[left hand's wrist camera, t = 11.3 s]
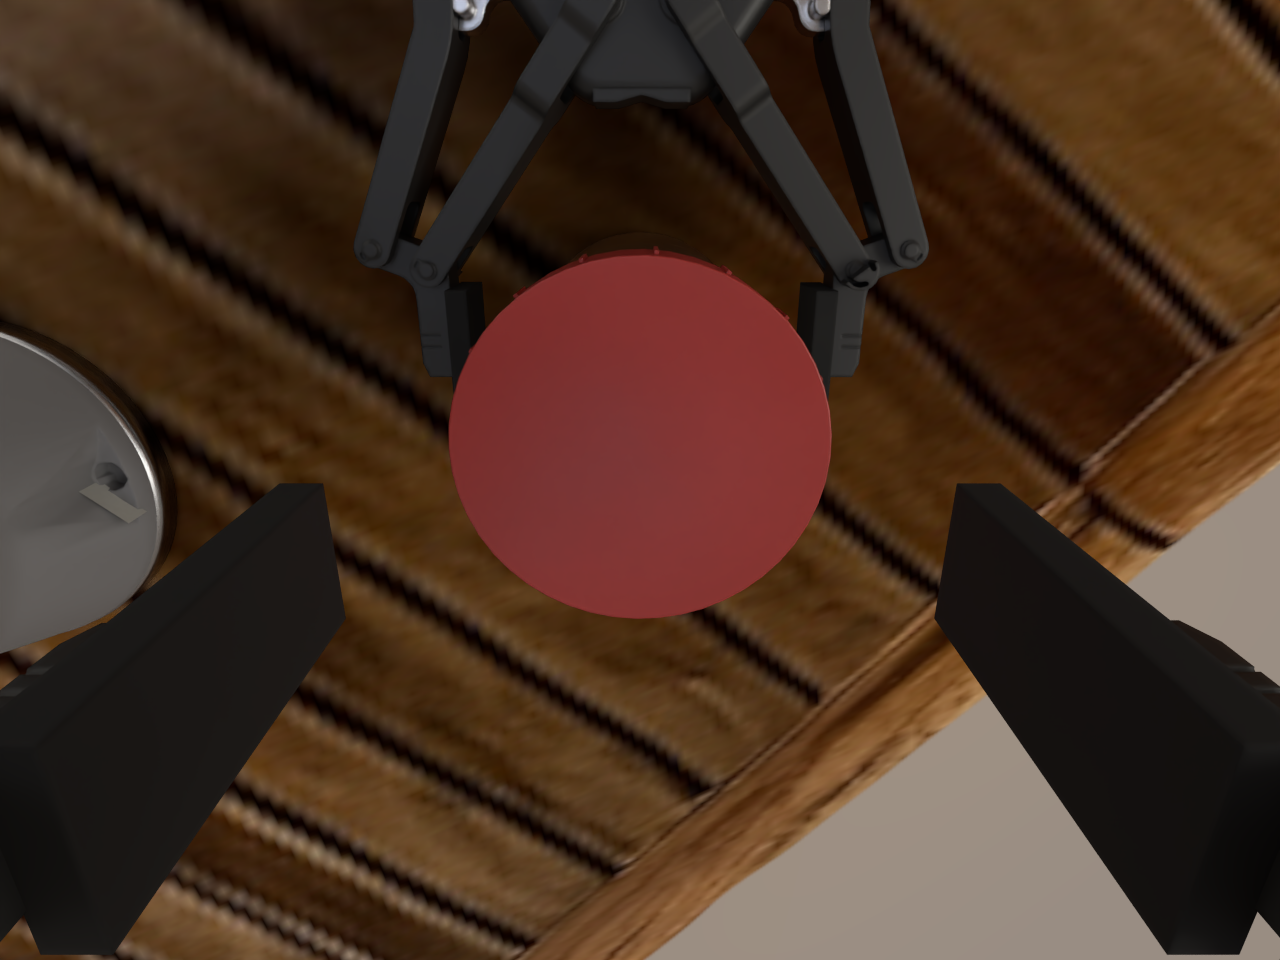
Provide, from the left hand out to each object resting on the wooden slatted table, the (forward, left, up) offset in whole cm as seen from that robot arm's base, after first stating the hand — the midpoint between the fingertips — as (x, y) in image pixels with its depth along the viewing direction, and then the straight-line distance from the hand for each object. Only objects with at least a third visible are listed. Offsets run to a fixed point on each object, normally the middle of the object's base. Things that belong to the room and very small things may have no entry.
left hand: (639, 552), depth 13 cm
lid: (0, 0, -6) cm, 6 cm away
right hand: (+2, -3, -15) cm, 16 cm away
